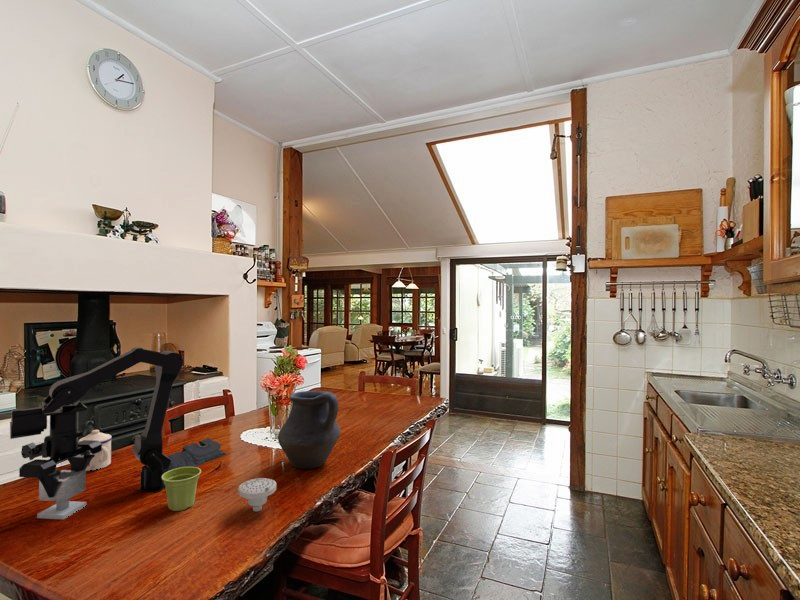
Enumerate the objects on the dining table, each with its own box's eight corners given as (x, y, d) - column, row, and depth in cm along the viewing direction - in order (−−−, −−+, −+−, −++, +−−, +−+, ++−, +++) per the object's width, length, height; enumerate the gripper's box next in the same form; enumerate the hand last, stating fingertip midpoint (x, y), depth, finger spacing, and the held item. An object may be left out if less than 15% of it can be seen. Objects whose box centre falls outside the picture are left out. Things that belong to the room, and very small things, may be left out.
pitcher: (308, 448, 157) (309, 381, 157) (355, 460, 146) (356, 388, 146) (264, 467, 139) (265, 391, 139) (314, 482, 128) (315, 399, 128)
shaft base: (86, 505, 112) (86, 484, 112) (63, 519, 105) (63, 496, 105) (61, 504, 112) (61, 483, 112) (37, 518, 105) (37, 495, 105)
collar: (85, 489, 111) (85, 470, 111) (63, 501, 105) (64, 481, 105) (62, 488, 112) (62, 469, 112) (39, 500, 105) (39, 480, 105)
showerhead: (252, 493, 104) (231, 482, 110) (252, 523, 104) (231, 510, 110) (285, 481, 111) (263, 471, 118) (284, 509, 111) (263, 497, 118)
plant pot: (156, 517, 106) (157, 482, 106) (165, 499, 115) (166, 468, 115) (197, 512, 109) (197, 478, 109) (203, 496, 118) (203, 464, 118)
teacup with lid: (72, 467, 136) (72, 431, 136) (103, 458, 144) (103, 424, 144) (89, 476, 130) (90, 438, 130) (121, 466, 138) (122, 430, 138)
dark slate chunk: (143, 468, 138) (144, 453, 138) (201, 447, 158) (201, 434, 158) (175, 476, 131) (176, 461, 132) (231, 454, 151) (231, 441, 151)
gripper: (65, 419, 118) (65, 474, 118) (-3, 441, 100) (-3, 507, 100) (103, 420, 118) (102, 476, 117) (42, 442, 99) (41, 509, 99)
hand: (63, 491), depth 108 cm, fingers closed on collar, 7 cm apart
